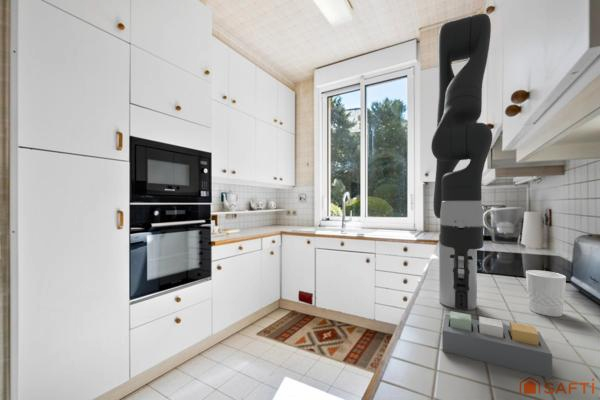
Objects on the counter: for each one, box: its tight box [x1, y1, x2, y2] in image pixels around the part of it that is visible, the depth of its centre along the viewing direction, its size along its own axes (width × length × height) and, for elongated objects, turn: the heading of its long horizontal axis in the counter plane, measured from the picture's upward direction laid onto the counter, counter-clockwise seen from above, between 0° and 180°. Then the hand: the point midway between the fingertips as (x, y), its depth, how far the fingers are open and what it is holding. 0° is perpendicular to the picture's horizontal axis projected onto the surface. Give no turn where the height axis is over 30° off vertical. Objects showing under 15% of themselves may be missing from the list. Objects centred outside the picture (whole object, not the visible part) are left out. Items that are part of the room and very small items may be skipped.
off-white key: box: [478, 316, 504, 338], centre depth 53 cm, size 4×4×2 cm
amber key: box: [509, 321, 539, 345], centre depth 50 cm, size 4×4×2 cm
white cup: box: [525, 269, 567, 317], centre depth 72 cm, size 8×8×10 cm
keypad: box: [442, 313, 553, 379], centre depth 53 cm, size 9×16×4 cm, turn 59°
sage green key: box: [449, 310, 472, 331], centre depth 55 cm, size 4×4×2 cm
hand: (461, 309), depth 55 cm, fingers closed
